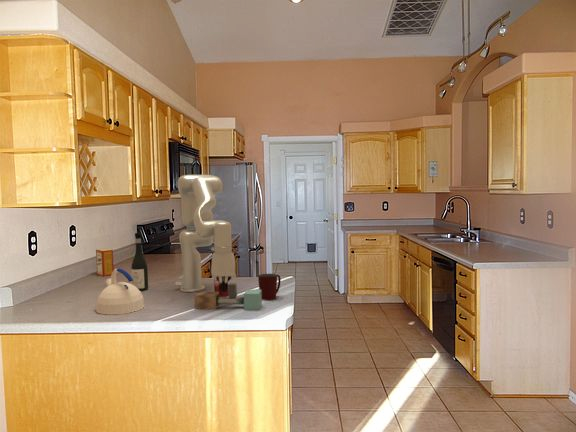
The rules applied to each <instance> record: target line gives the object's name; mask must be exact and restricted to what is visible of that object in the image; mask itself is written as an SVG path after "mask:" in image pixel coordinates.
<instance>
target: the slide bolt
mask: <svg viewBox="0 0 576 432" xmlns="http://www.w3.org/2000/svg"><path fill="white" fill-rule="evenodd" d="M216 304H217V305H219V306H220V305H223V306H224V305H229V306H230V305H234V306H235V305H237V306H238V305H243V306H244V296H238V283H235V282H234V283H233V282H232V283H230V282H229V297H216Z"/></svg>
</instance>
